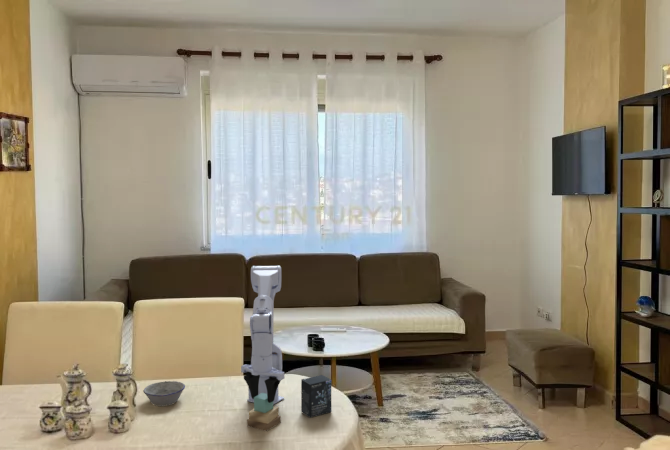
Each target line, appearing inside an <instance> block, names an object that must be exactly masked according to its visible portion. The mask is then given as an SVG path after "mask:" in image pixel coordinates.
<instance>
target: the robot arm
mask: <svg viewBox="0 0 670 450" xmlns="http://www.w3.org/2000/svg"><path fill="white" fill-rule="evenodd" d="M250 283H251V286H252V287H251V288H252V289H253V292H255V293H256V294H257V297H255V298H254V300H253V306H252V307H253V309H252V315H250V318H249V330H250V339H251V347H252V348H251V356H250V358H251V359H250V364H243V365H241V366H240V367H241V370H240V372H241V373H242V374H244V373H245V375H244V376H243V380H244V381H245V383H246V385H247V387H248V392H247V393H248V399H246V401H247V402H250V403H253V404H254V397H255V396H257V395H259V394H261V393H266V394H267V398H268V402H269V403H271V402H273V405H276V404H277V403H279V402H280V401H282V400H284V399H285V397H284V396H281V395H279V386H280V383H281V381H282V380H284V379H285V377H286V376H285V371H283V353H282V349H281V347H280V346H278V345H277V344H276V343H274V312H275V309H274V304H275V303H274V301H275V297H276V293H278V292H280V291H281V288H282V267H281V265H278V264H277V265H252V266H251V268H250Z"/></svg>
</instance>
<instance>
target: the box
mask: <svg viewBox="0 0 670 450" xmlns="http://www.w3.org/2000/svg"><path fill="white" fill-rule="evenodd" d="M300 384H301V387H300V388H301V391H300V393H301V395H300V396H301V403H300V404H301V407H300V408H301V410H300V412H301V413H302V414H304V415H305V416H307V417H308V418H314V417H317V416H320V415H321V416H322V415H326V414H329V413H332V379H330V378H329V377H328V376H327V377H326V376H325V375H324V374H320V375H316V376H312V377H307V378H301V383H300Z"/></svg>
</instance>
